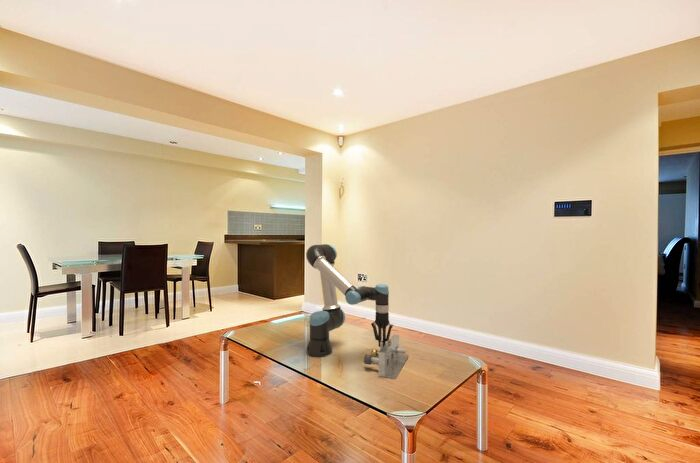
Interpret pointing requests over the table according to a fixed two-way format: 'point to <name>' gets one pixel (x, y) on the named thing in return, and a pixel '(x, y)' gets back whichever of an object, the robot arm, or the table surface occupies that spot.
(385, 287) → the robot arm
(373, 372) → the table surface
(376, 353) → the silver and brass cylinder
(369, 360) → the knob near
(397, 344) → the panel
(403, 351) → the knob far
